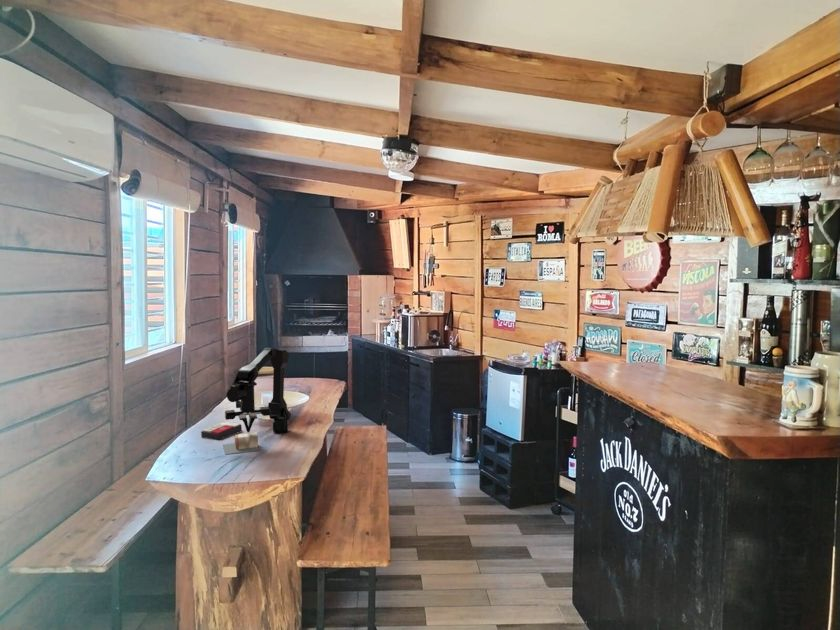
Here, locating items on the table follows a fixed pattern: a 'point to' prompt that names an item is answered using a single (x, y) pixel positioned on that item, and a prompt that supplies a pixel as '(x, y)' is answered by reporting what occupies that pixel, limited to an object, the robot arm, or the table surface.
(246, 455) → the table surface
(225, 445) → the mat
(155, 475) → the table surface
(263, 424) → the table surface
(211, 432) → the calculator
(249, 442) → the block
